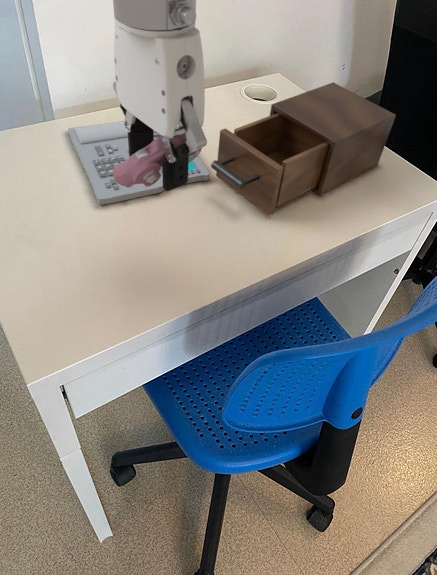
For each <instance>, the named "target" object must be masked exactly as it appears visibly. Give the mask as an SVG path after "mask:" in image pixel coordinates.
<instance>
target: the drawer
mask: <svg viewBox="0 0 437 575" xmlns="http://www.w3.org/2000/svg"><path fill="white" fill-rule="evenodd" d="M330 145H331V144H329V143H327V142H326V141H324V140H322V139H321V138H319V137H317V136H316V135H314V134H312V133H311V132H309V131H307V130H306V129H304V128H302V127H301V126H299V125H297V124H296V123H294V122H292V121H291V120H289V119H287V118H286V117H284V116H282V115H281V114H279V113H276V114H274V115H271V116H270V115H269V116H266V117H263V118H260V119H258V120H255V121H253V122H250V123H247V124H245V125H242V126H239V127H236V128H234V130H233V132H232V131H231V130H229V129H227V128H226V127H225V128H223V129H220V130H219V138H218V149H217V150H218V151H217V160H216V159H215V160H213V161H212V162H211V164H210V167H211V169H213V170H214V171H215V176H216V178H218V179H219V180H220V181H222V182H223V183H225V184H226V185H227V186H229V187H230V188H232V189H233V190H234V191H235V192H236V193H238V194H239V195H241V196H242V197H243V198H244V199H246V200H247V201H249V202H250V203H251V204H252V205H254V206H255V207H256V208H258V209H259V210H260V211H262V212H263V213H265V214H266V215H267V216H269V217H270V216H271V215H274V214H275V211H276V207H279V206H281V205H283V204H286V203H287V202H289V201H291V200H293V199H295V198H298V197H299V196H301V195H303V194H305V193H307V192H309V191H312V190H311V189H313V188H315V187H317V186H319V185H320V181H321V177H322V174H323V170H324V167H325V163H326V159H327V156H328V152H329V148H330Z"/></svg>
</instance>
